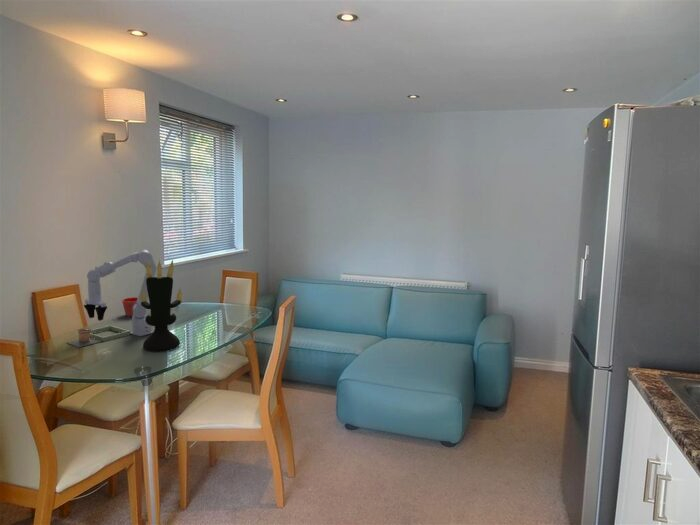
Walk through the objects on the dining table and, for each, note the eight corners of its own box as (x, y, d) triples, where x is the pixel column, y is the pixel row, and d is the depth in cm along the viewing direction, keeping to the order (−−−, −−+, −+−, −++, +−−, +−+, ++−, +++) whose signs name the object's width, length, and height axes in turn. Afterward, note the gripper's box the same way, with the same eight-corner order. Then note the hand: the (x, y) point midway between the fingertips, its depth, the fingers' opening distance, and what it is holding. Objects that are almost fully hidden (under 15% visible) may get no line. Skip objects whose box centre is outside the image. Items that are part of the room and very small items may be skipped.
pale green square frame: (130, 334, 253) (130, 330, 253) (103, 341, 241) (103, 337, 240) (111, 328, 262) (111, 325, 262) (83, 335, 249) (83, 331, 249)
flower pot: (135, 318, 285) (134, 301, 284) (119, 316, 287) (118, 300, 286) (146, 313, 295) (146, 298, 294) (130, 312, 298) (129, 296, 296)
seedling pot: (94, 341, 240) (93, 329, 239) (82, 344, 235) (82, 331, 234) (87, 339, 242) (86, 327, 241) (75, 341, 237) (75, 329, 236)
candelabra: (182, 340, 247) (181, 252, 241) (184, 354, 227) (182, 259, 220) (142, 343, 241) (139, 253, 234) (140, 357, 220) (136, 259, 213)
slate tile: (101, 342, 240) (101, 341, 240) (79, 347, 231) (79, 346, 231) (88, 337, 246) (88, 337, 245) (66, 343, 236) (66, 342, 236)
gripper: (78, 292, 245) (80, 318, 247) (95, 296, 238) (97, 322, 240) (92, 290, 251) (93, 315, 253) (109, 293, 244) (110, 319, 246)
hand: (96, 318), depth 247 cm, fingers open, 7 cm apart
